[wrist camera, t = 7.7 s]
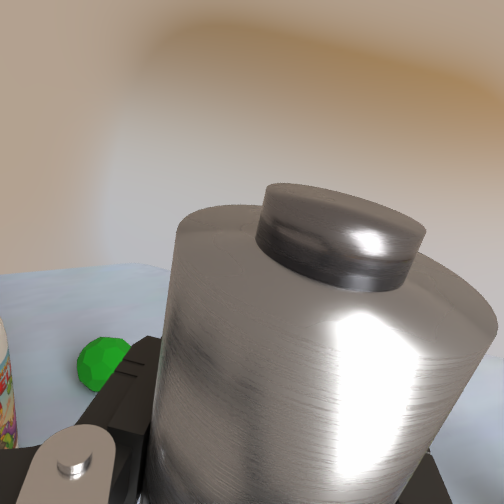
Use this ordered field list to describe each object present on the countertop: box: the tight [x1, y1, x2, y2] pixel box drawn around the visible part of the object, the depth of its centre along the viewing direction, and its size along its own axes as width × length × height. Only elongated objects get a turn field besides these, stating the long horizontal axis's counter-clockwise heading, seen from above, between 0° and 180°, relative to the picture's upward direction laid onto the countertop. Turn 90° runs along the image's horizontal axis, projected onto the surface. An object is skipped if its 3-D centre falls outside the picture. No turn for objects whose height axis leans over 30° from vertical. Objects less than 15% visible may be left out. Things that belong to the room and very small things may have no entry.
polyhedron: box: [77, 337, 131, 392], centre depth 31 cm, size 5×5×5 cm
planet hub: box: [140, 183, 498, 504], centre depth 7 cm, size 5×5×13 cm
